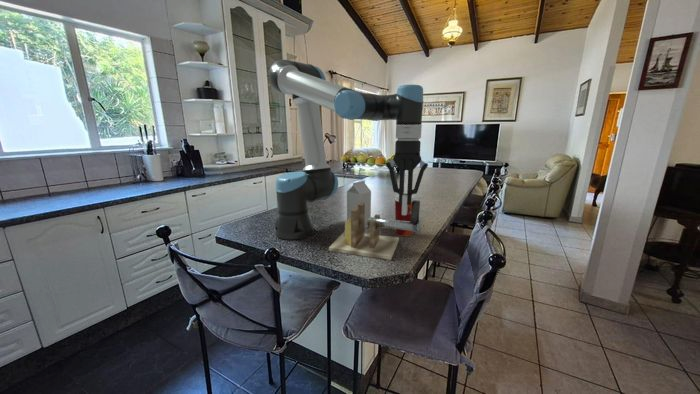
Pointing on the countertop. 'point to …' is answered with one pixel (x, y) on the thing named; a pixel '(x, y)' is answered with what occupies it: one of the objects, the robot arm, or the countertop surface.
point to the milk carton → (359, 199)
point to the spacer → (348, 232)
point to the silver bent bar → (402, 225)
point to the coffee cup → (403, 217)
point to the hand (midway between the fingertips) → (404, 213)
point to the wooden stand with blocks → (365, 238)
